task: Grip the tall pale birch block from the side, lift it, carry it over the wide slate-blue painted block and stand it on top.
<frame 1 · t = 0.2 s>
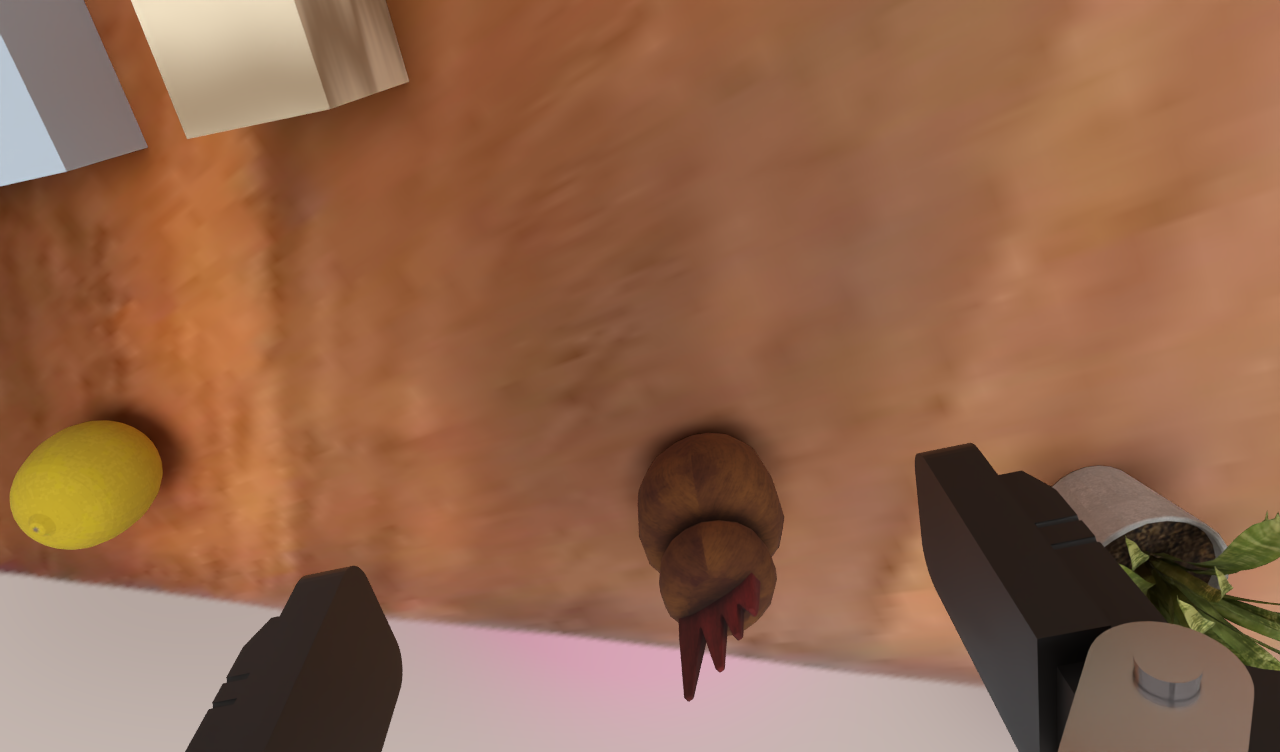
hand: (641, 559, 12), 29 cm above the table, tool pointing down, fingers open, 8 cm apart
house plant: (1087, 483, 45), on the table
wooden figurine: (703, 464, 44), on the table
lemon: (139, 440, 44), on the table
birch block: (335, 32, 36), on the table
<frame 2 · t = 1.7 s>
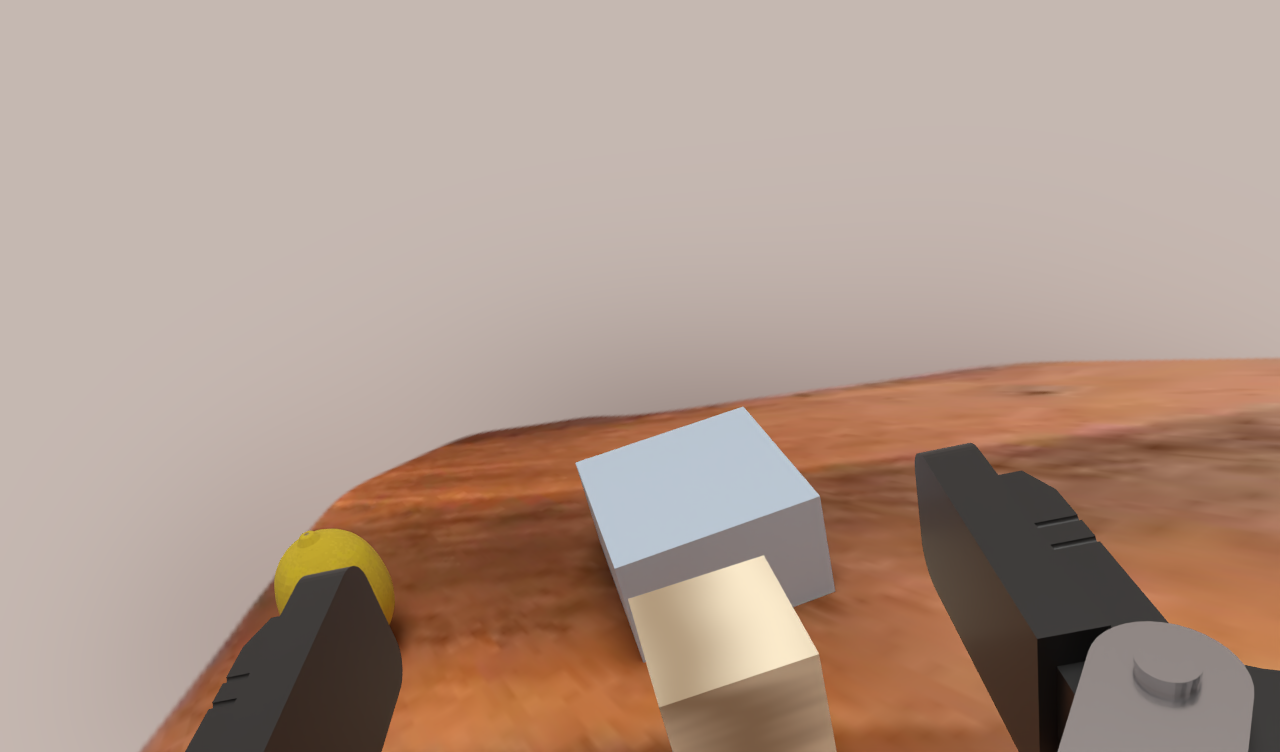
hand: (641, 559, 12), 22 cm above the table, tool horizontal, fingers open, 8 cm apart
slate block: (708, 569, 45), on the table
lemon: (366, 653, 45), on the table
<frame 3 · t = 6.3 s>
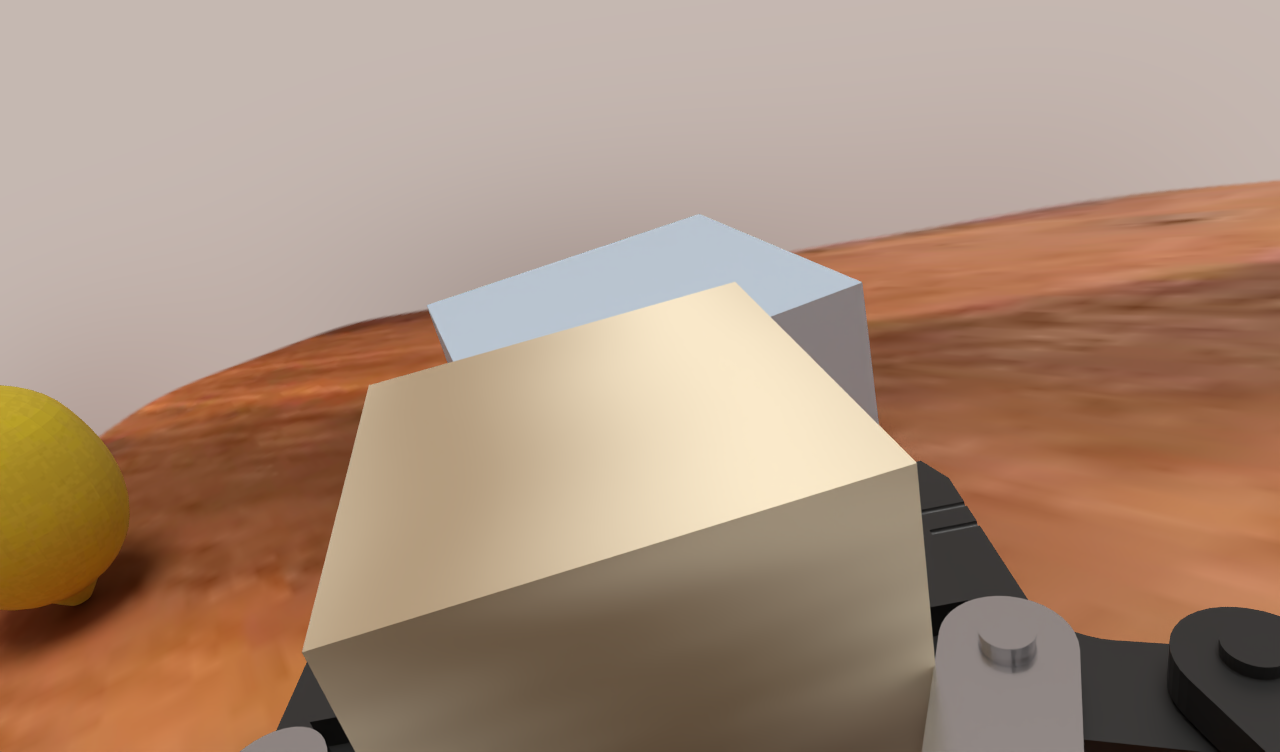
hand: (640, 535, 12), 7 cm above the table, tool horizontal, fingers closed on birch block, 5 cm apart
slate block: (659, 466, 27), on the table
lemon: (85, 605, 27), on the table
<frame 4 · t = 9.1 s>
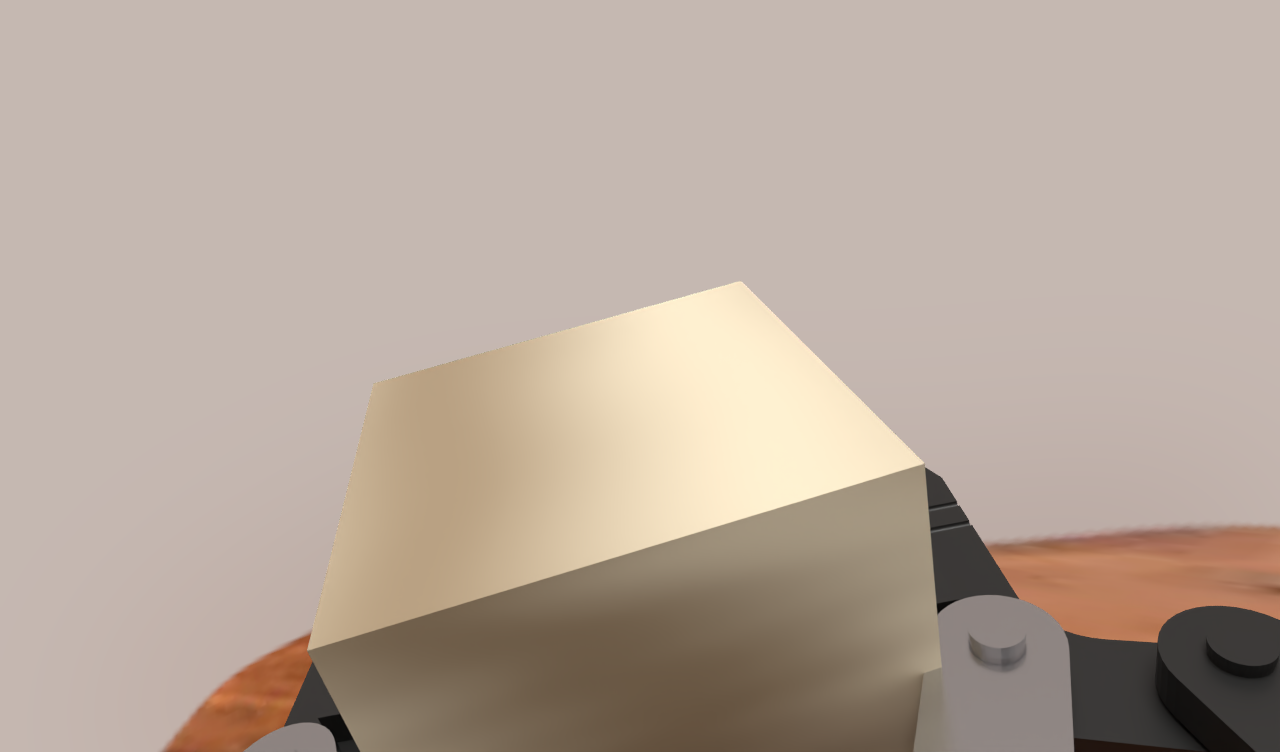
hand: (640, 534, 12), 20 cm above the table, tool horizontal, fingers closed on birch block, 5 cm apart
when the fingers open (13 cm above the table, at t = 11.7 s): birch block drops 1 cm, resting on slate block.
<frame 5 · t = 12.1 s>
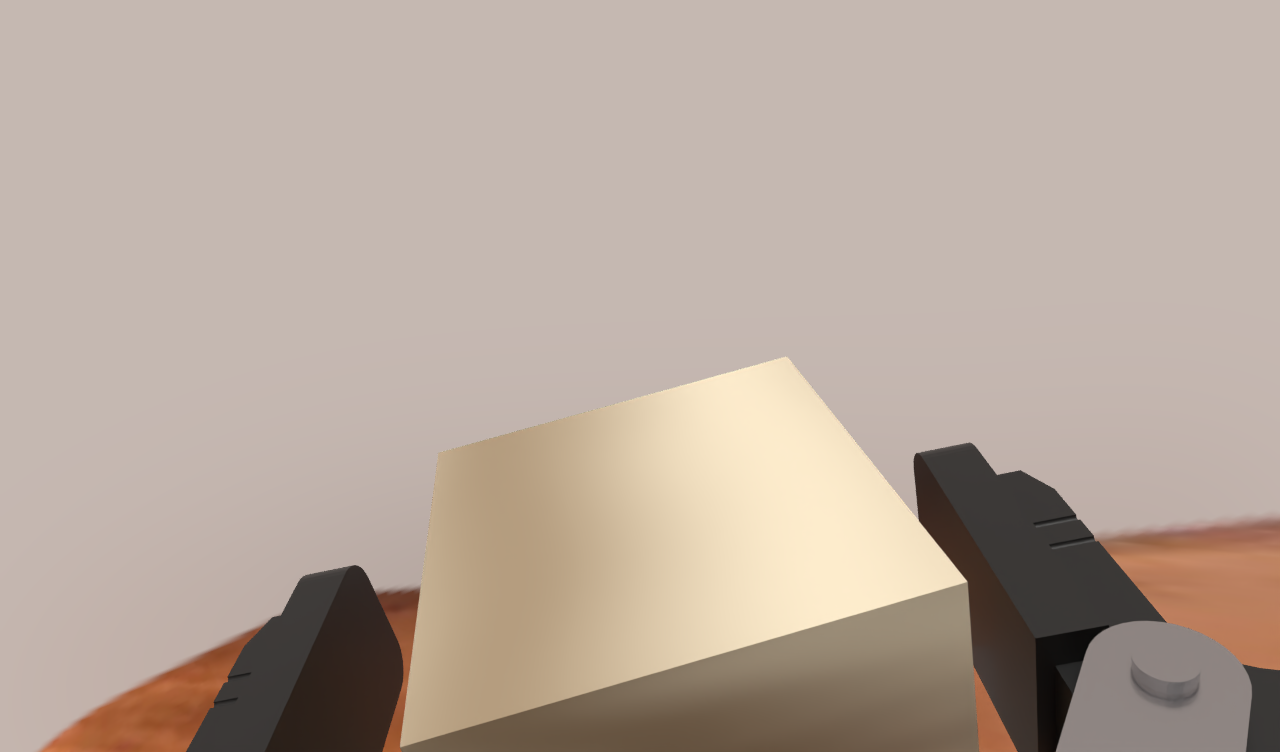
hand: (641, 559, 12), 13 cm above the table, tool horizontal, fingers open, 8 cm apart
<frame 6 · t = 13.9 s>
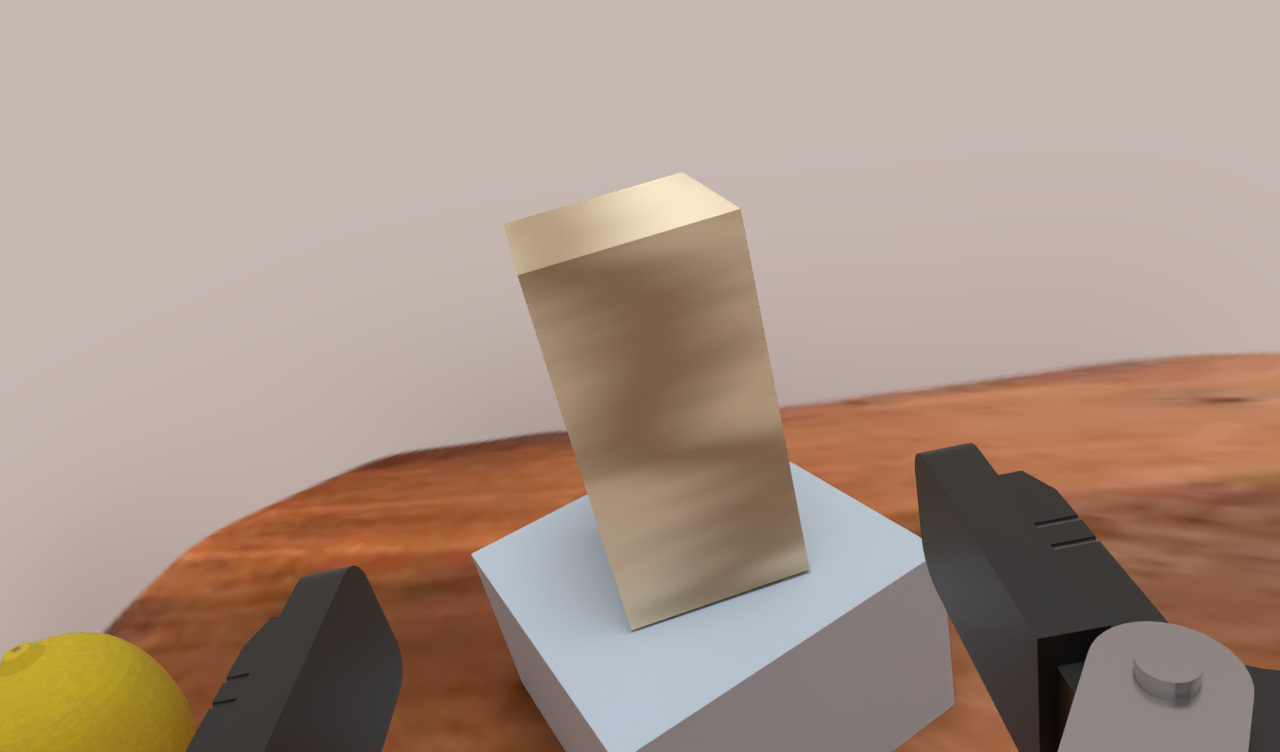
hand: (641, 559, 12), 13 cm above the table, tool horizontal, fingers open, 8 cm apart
slate block: (721, 698, 27), on the table
birch block: (696, 546, 24), point 6 cm above the table
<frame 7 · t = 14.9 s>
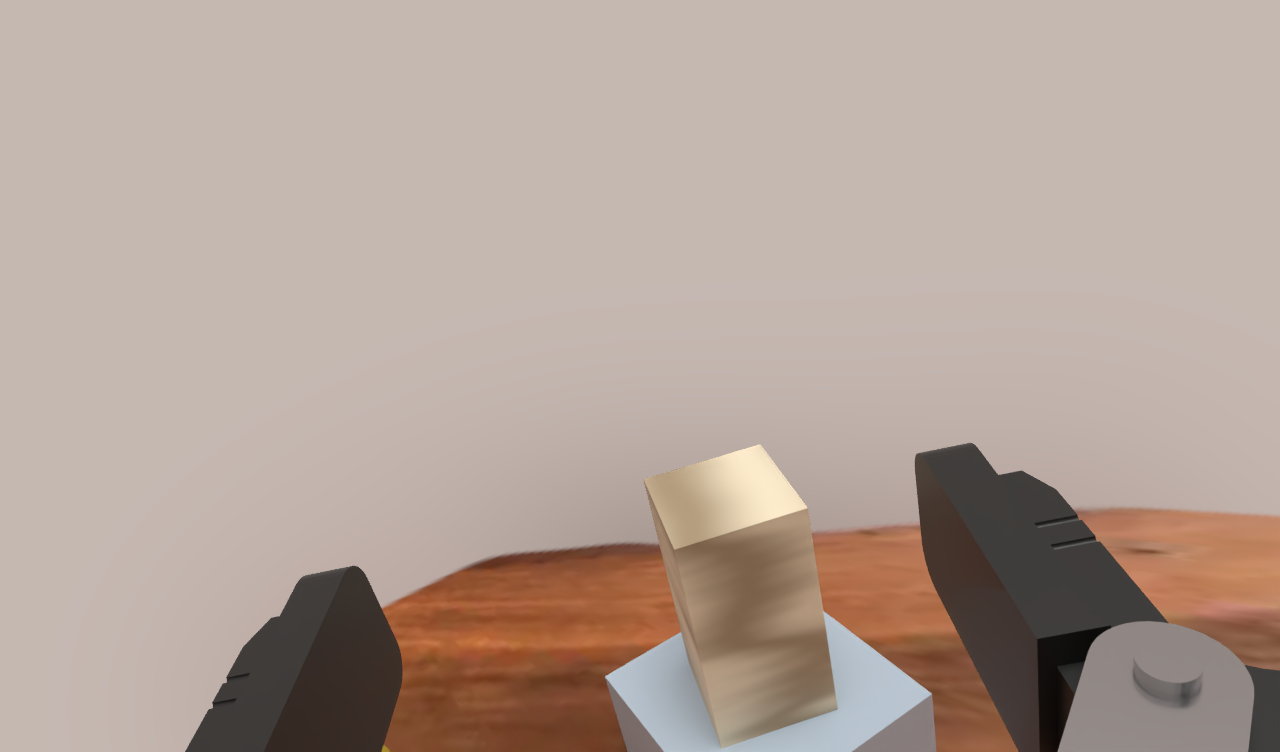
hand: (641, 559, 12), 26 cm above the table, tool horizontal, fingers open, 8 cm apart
birch block: (759, 684, 36), point 6 cm above the table
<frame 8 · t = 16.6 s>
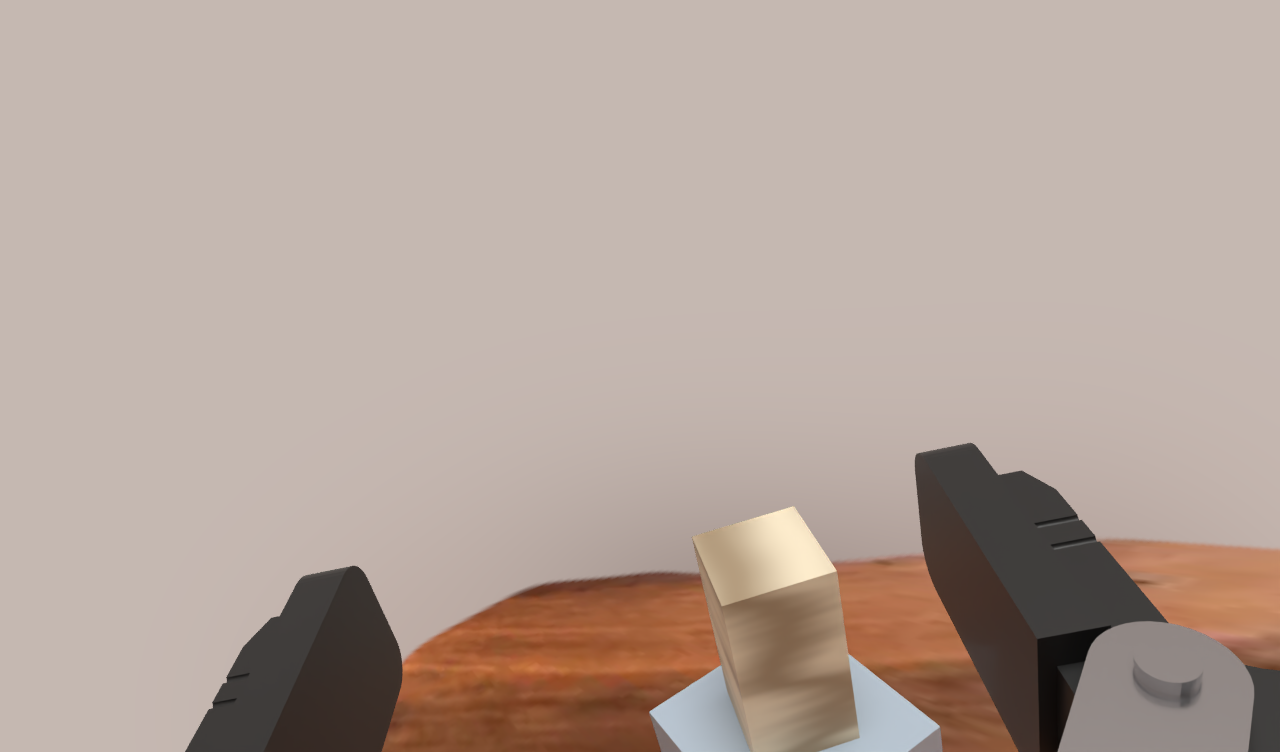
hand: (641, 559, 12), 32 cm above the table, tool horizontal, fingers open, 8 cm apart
birch block: (790, 713, 41), point 6 cm above the table, touching slate block
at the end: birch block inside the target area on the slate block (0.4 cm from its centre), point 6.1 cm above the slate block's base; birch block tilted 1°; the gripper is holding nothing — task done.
